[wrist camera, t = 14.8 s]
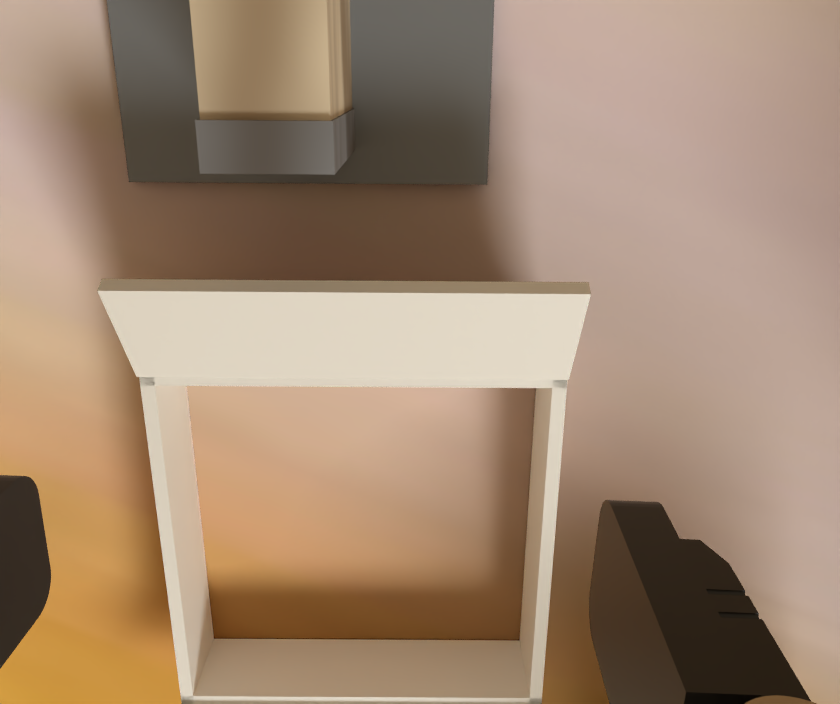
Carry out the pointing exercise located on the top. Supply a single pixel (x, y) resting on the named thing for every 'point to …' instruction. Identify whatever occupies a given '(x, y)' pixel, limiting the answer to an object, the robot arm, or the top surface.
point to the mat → (371, 93)
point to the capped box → (273, 86)
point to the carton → (346, 367)
